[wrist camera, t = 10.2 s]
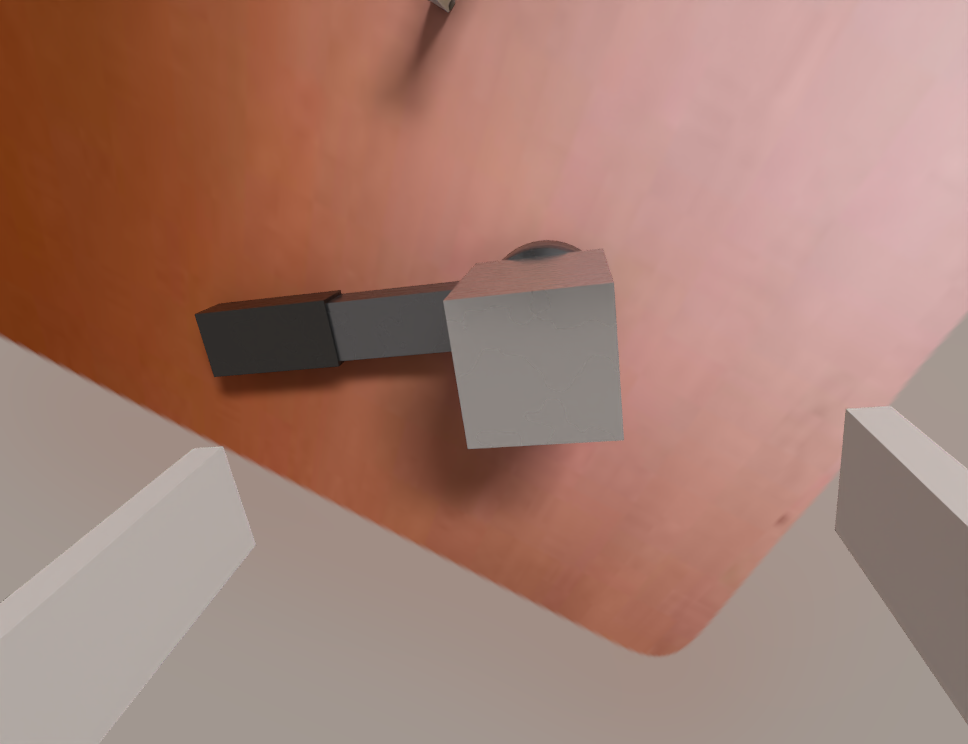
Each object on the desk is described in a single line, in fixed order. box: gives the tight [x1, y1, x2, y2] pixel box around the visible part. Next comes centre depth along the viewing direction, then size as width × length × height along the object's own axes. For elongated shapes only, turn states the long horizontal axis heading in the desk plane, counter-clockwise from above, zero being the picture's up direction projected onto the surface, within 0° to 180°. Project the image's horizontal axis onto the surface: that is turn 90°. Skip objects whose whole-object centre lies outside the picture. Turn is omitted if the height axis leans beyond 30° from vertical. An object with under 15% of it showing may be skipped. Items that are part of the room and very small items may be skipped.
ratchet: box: [195, 240, 581, 377], centre depth 27 cm, size 6×20×6 cm, turn 98°
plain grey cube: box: [443, 249, 624, 449], centre depth 23 cm, size 6×6×7 cm
